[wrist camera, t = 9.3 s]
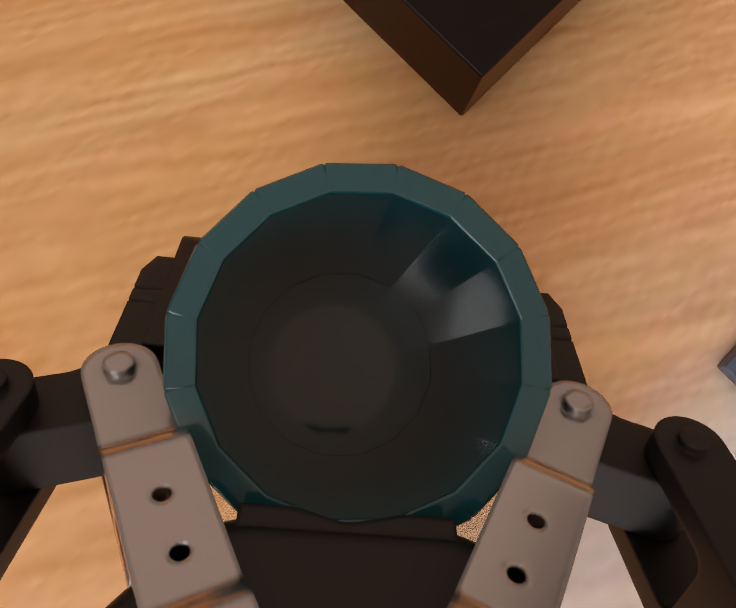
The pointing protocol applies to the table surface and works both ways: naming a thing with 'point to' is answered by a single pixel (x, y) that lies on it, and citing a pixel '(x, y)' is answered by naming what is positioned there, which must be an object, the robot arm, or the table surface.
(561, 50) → the table surface
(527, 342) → the dark teal cup
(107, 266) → the table surface
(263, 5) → the table surface
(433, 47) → the stove
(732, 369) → the grey notebook
